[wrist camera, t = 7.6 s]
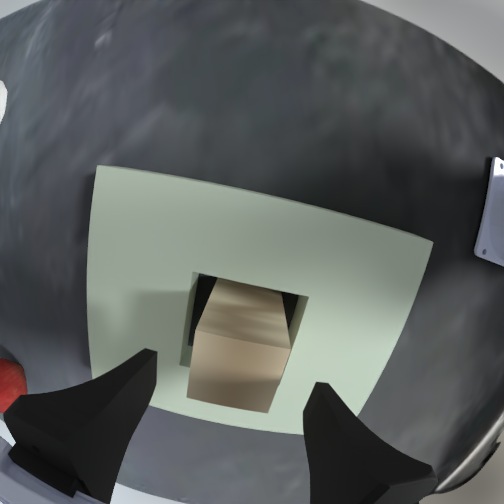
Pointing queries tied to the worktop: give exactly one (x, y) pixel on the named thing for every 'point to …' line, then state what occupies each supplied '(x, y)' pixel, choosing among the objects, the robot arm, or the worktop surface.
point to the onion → (11, 383)
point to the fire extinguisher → (2, 99)
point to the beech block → (239, 347)
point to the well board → (250, 272)
